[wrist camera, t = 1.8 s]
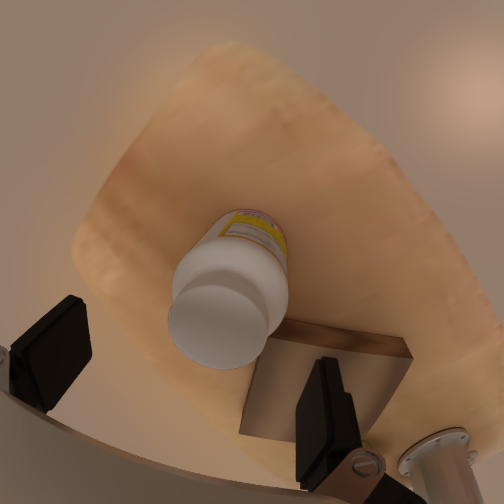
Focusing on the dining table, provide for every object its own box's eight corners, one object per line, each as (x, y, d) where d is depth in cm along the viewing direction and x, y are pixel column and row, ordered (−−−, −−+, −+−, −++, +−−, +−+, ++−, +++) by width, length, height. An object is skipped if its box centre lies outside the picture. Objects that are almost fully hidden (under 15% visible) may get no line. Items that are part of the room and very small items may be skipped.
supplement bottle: (226, 292, 27) (185, 393, 15) (196, 224, 25) (122, 288, 13) (298, 269, 26) (306, 369, 13) (271, 196, 24) (256, 242, 12)
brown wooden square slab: (402, 338, 27) (413, 358, 23) (353, 425, 31) (356, 446, 28) (268, 315, 27) (265, 336, 24) (242, 411, 32) (238, 433, 29)
